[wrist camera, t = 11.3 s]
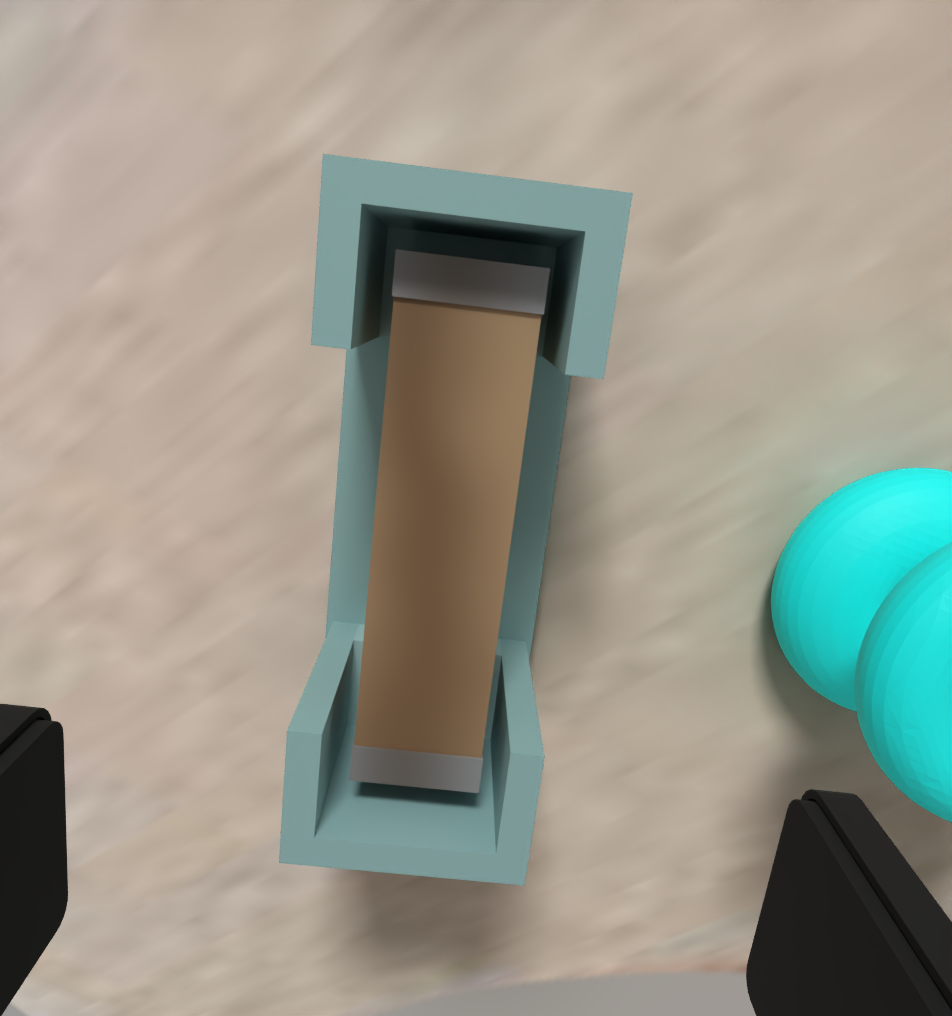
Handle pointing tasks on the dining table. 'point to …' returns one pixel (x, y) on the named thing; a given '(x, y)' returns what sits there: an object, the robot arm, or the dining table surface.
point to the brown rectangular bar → (444, 514)
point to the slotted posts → (366, 335)
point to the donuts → (879, 620)
